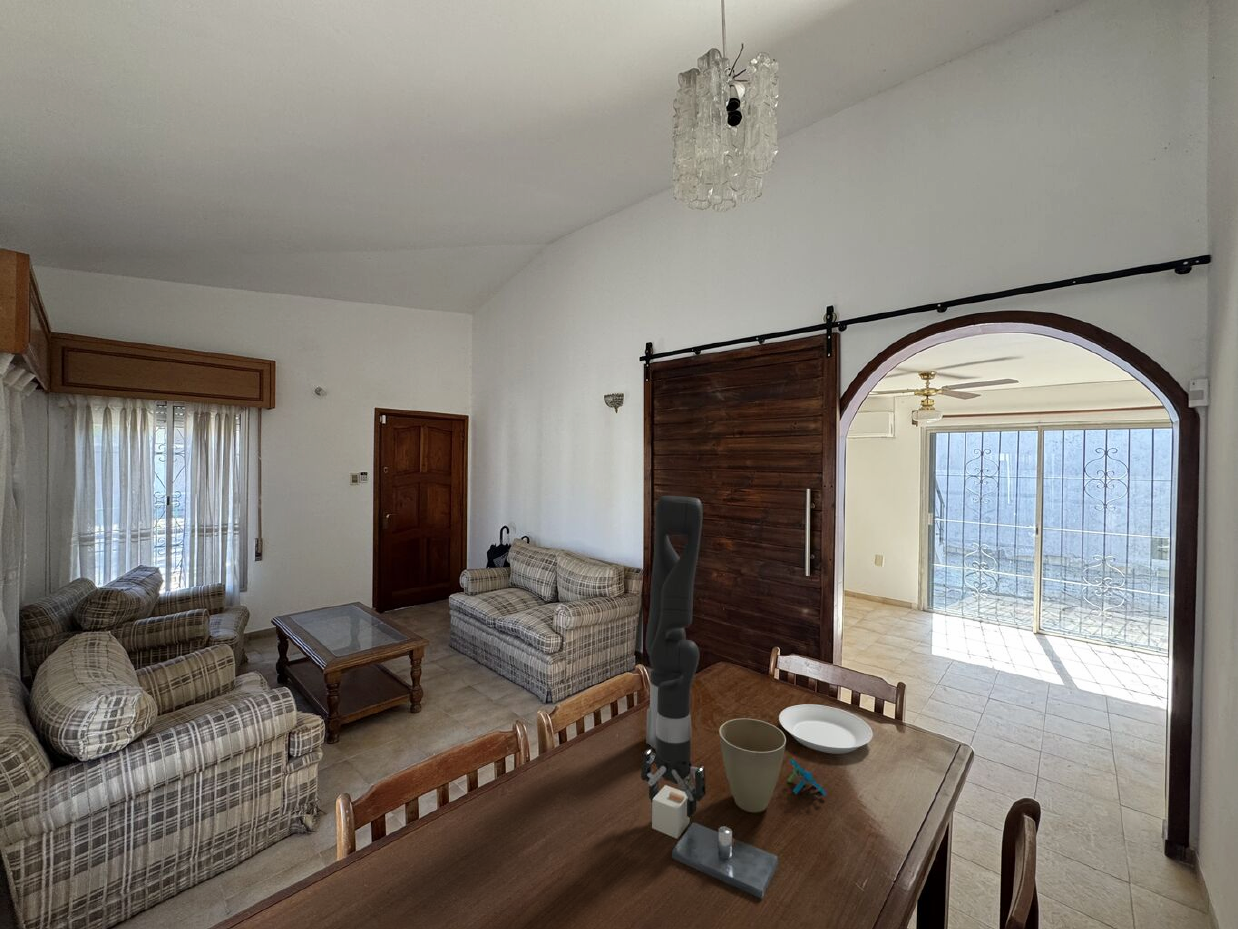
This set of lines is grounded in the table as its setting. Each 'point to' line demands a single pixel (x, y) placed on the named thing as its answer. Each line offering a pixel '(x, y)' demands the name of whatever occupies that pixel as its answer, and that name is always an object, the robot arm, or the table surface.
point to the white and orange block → (670, 811)
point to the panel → (726, 858)
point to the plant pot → (752, 760)
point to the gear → (803, 778)
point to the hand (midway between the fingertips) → (672, 808)
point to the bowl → (825, 728)
